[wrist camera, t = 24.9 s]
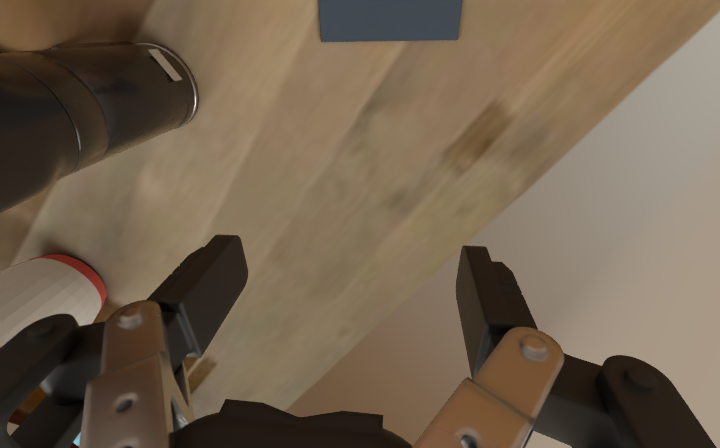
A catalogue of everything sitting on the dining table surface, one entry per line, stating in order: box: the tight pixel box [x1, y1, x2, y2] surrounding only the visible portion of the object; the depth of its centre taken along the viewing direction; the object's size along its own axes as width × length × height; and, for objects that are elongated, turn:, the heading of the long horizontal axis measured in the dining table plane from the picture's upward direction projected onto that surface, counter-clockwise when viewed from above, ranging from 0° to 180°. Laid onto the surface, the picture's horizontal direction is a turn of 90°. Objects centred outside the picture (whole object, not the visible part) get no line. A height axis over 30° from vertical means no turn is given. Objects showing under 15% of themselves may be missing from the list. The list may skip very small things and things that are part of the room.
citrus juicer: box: [0, 254, 107, 348], centre depth 50 cm, size 16×17×20 cm
